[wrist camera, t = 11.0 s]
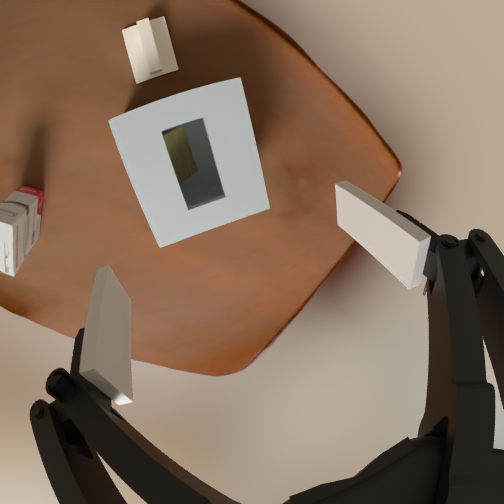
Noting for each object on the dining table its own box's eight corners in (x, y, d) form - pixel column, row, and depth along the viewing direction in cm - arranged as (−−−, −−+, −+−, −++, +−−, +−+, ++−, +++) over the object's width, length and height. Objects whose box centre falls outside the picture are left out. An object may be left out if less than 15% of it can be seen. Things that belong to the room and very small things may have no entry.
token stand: (122, 31, 25) (118, 24, 22) (164, 17, 26) (164, 9, 23) (136, 83, 30) (134, 82, 27) (178, 69, 31) (179, 67, 28)
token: (169, 128, 35) (134, 147, 30) (183, 125, 34) (147, 144, 29) (184, 172, 39) (154, 195, 34) (197, 170, 38) (167, 194, 33)
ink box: (20, 184, 31) (-14, 215, 21) (44, 190, 33) (14, 223, 24) (17, 230, 34) (-11, 270, 24) (39, 237, 36) (15, 278, 27)
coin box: (123, 113, 32) (108, 120, 22) (218, 82, 34) (240, 77, 24) (158, 208, 41) (160, 247, 32) (242, 179, 43) (269, 208, 34)
